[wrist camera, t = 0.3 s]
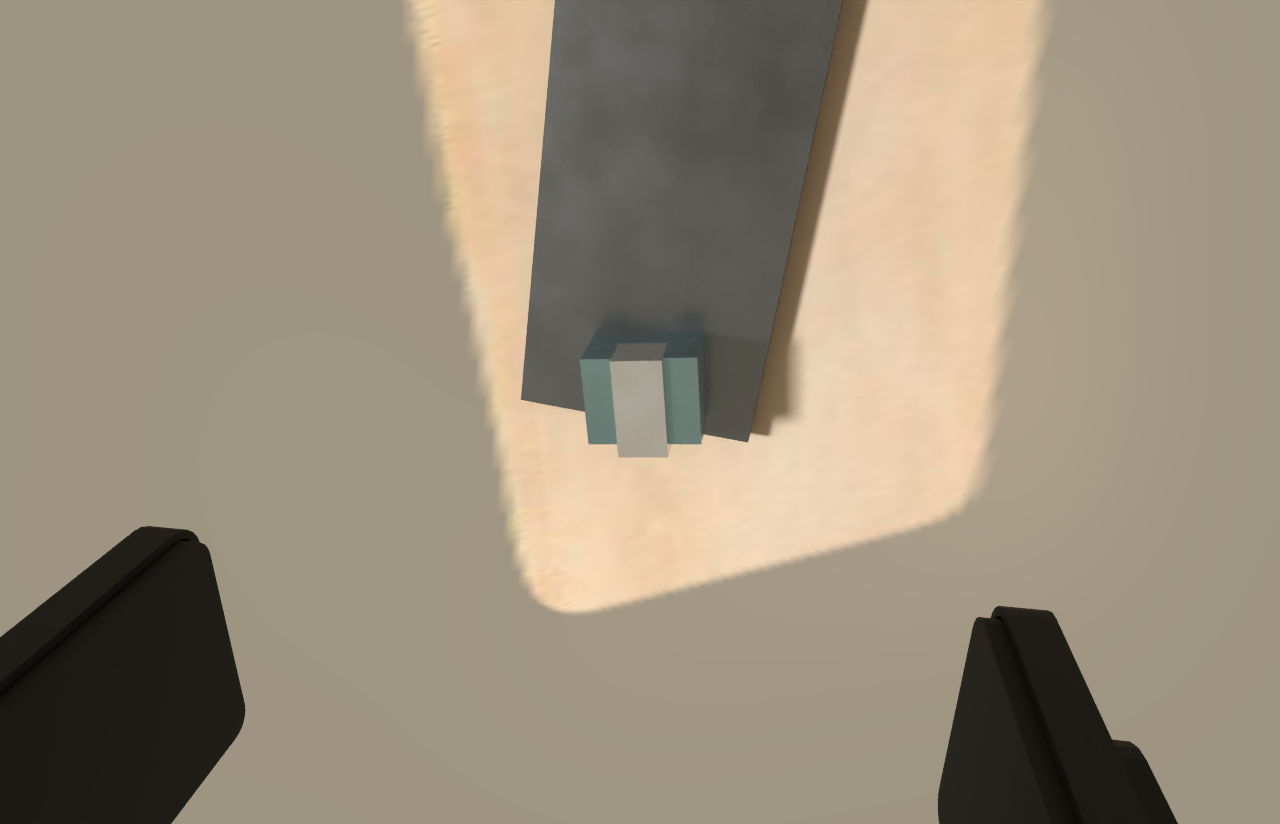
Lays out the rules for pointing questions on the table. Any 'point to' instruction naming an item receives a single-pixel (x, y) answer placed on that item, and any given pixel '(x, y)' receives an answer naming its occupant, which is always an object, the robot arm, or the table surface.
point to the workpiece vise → (669, 209)
